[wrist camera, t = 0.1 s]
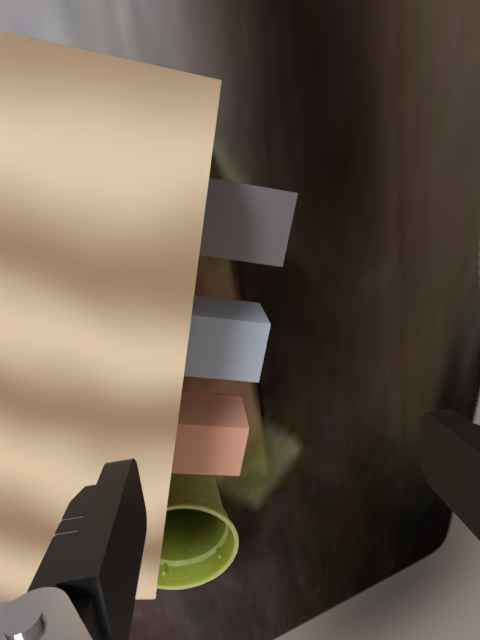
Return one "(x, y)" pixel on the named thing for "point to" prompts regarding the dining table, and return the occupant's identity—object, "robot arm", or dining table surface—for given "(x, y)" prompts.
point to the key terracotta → (210, 434)
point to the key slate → (226, 339)
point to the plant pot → (195, 534)
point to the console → (93, 282)
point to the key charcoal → (246, 222)
